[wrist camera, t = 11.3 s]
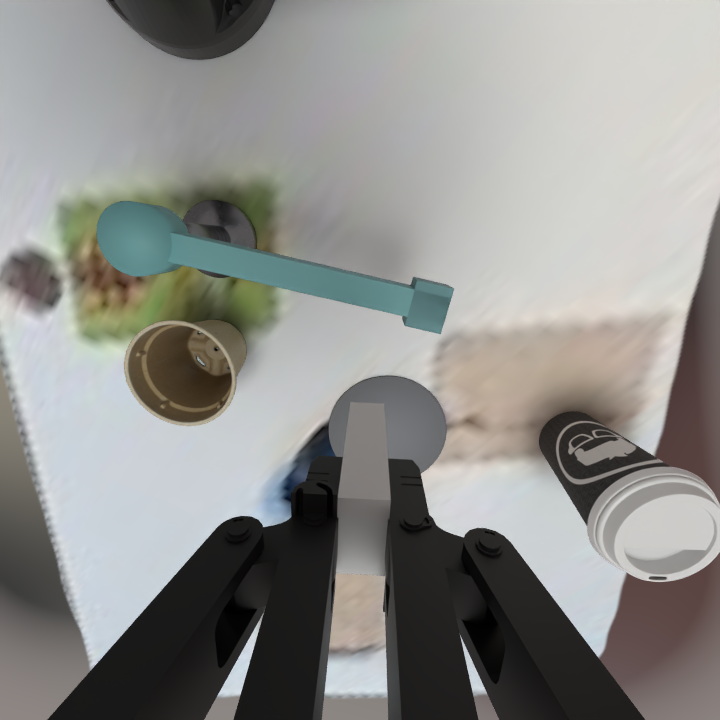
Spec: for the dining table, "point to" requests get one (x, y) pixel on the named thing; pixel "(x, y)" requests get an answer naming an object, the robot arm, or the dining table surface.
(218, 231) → the grey pedestal stand
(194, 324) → the flower pot
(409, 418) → the pad
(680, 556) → the coffee cup
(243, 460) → the dining table surface
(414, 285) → the teal paddle stick
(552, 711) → the robot arm
